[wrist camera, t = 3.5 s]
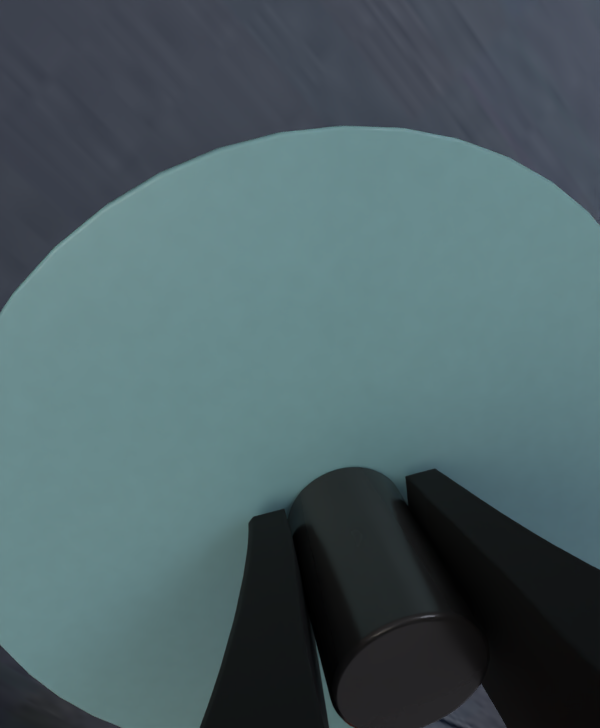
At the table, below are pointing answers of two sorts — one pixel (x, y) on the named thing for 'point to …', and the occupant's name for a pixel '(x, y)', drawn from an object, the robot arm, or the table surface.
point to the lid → (291, 414)
